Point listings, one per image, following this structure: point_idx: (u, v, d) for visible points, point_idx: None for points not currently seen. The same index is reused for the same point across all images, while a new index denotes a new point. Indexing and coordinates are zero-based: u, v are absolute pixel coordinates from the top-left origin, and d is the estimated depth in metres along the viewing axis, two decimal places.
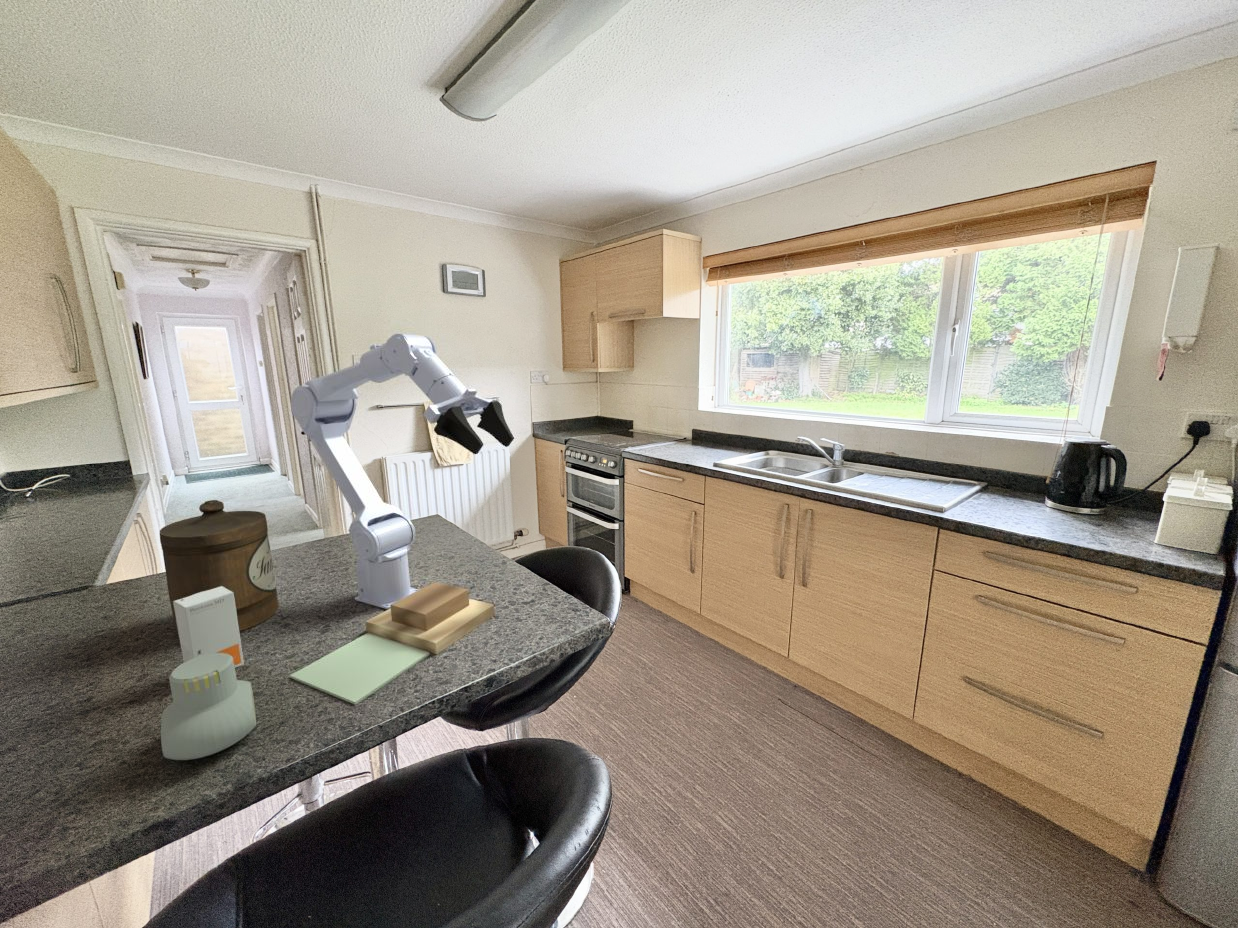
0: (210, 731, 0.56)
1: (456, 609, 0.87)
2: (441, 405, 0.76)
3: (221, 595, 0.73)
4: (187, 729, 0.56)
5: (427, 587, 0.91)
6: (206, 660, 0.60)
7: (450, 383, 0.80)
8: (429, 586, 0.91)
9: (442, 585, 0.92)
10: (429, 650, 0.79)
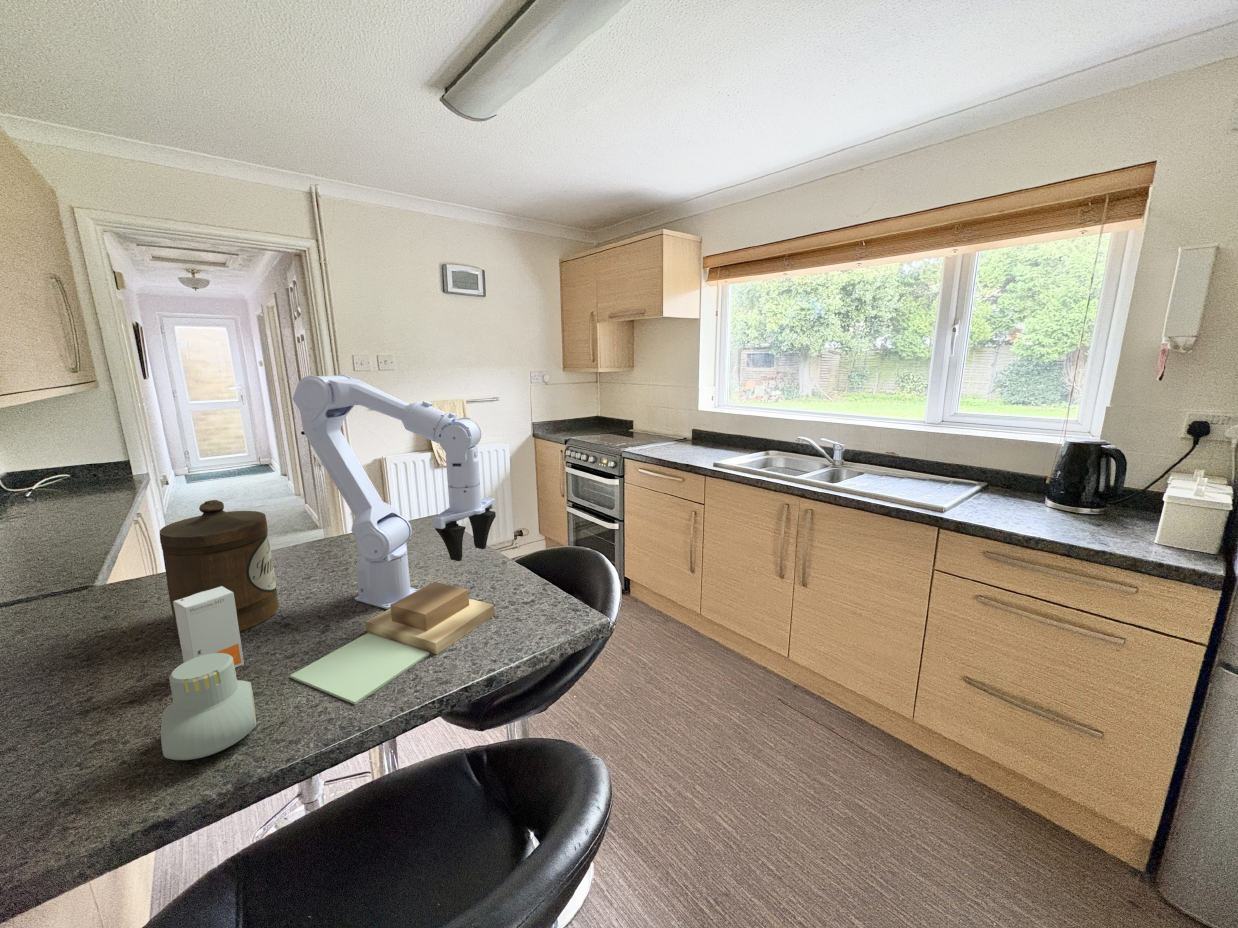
0: (210, 731, 0.56)
1: (456, 609, 0.87)
2: (450, 518, 0.88)
3: (221, 595, 0.73)
4: (187, 729, 0.56)
5: (427, 587, 0.91)
6: (207, 660, 0.60)
7: (470, 495, 0.90)
8: (429, 586, 0.91)
9: (442, 585, 0.92)
10: (429, 650, 0.79)
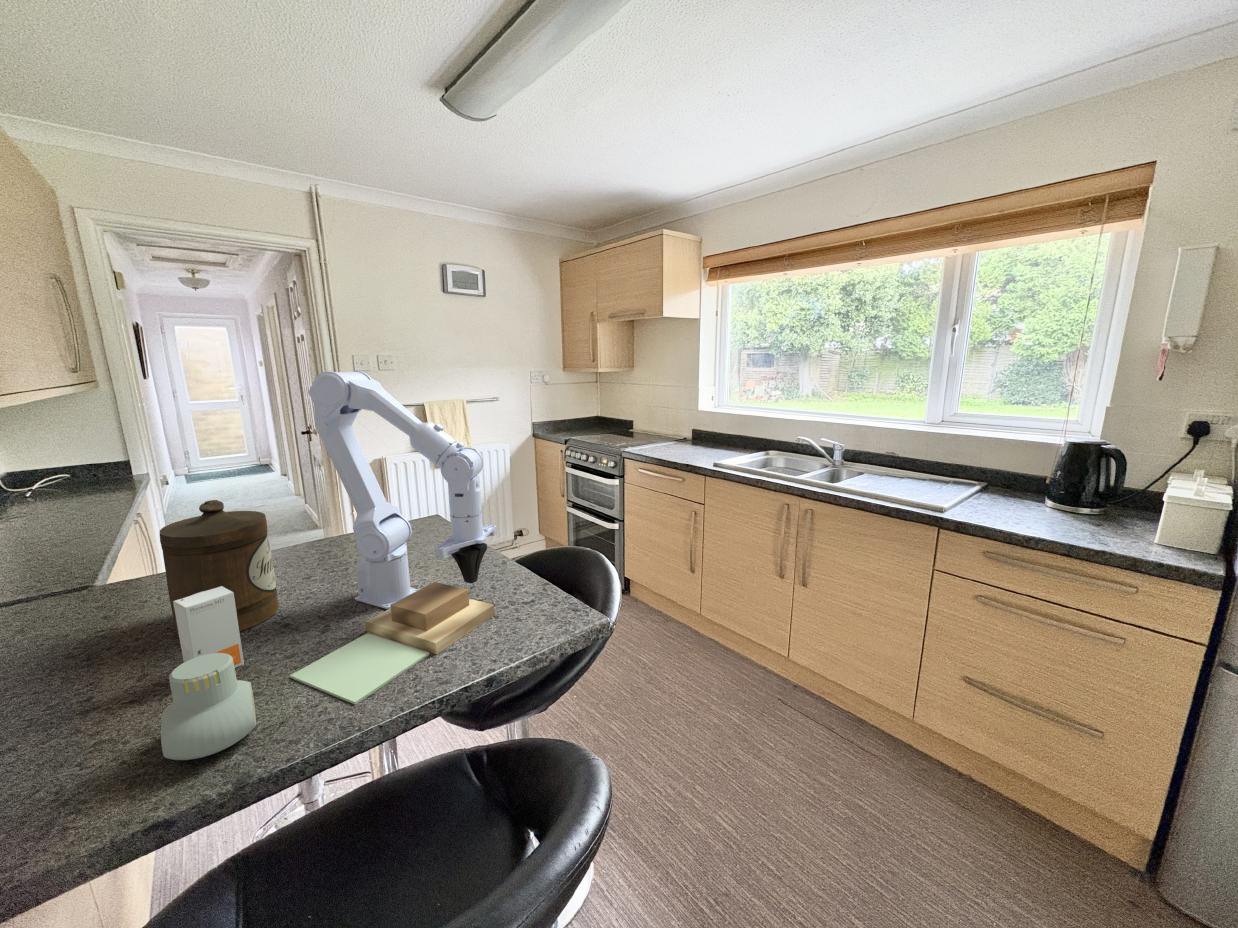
0: (210, 731, 0.56)
1: (456, 609, 0.87)
2: (452, 548, 0.89)
3: (221, 595, 0.73)
4: (187, 729, 0.56)
5: (427, 587, 0.91)
6: (206, 660, 0.60)
7: (472, 524, 0.92)
8: (429, 586, 0.91)
9: (442, 585, 0.92)
10: (429, 650, 0.79)
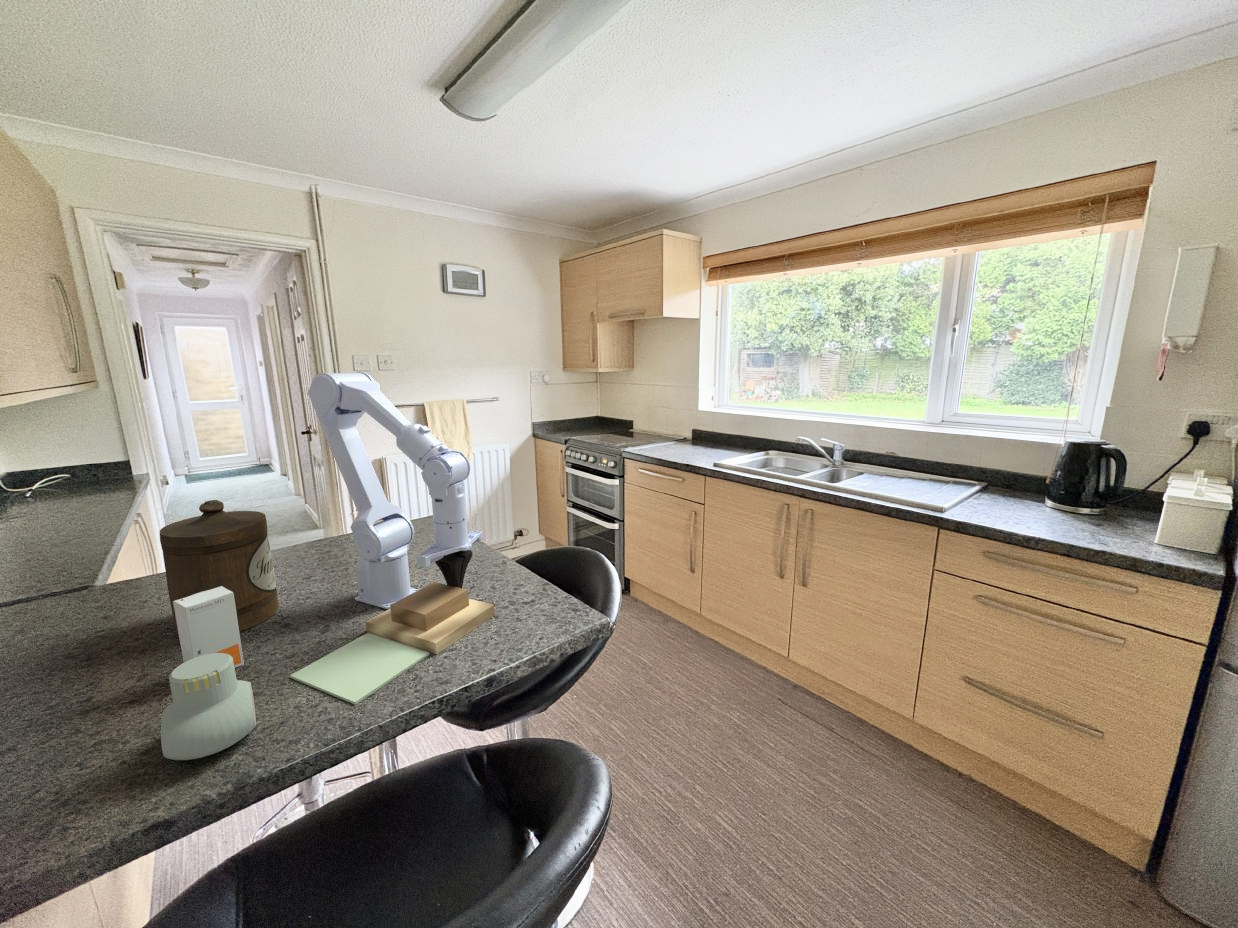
0: (210, 731, 0.56)
1: (456, 609, 0.87)
2: (435, 556, 0.86)
3: (221, 595, 0.73)
4: (187, 729, 0.56)
5: (427, 587, 0.91)
6: (206, 660, 0.60)
7: (456, 531, 0.88)
8: (429, 586, 0.91)
9: (442, 585, 0.91)
10: (429, 650, 0.79)
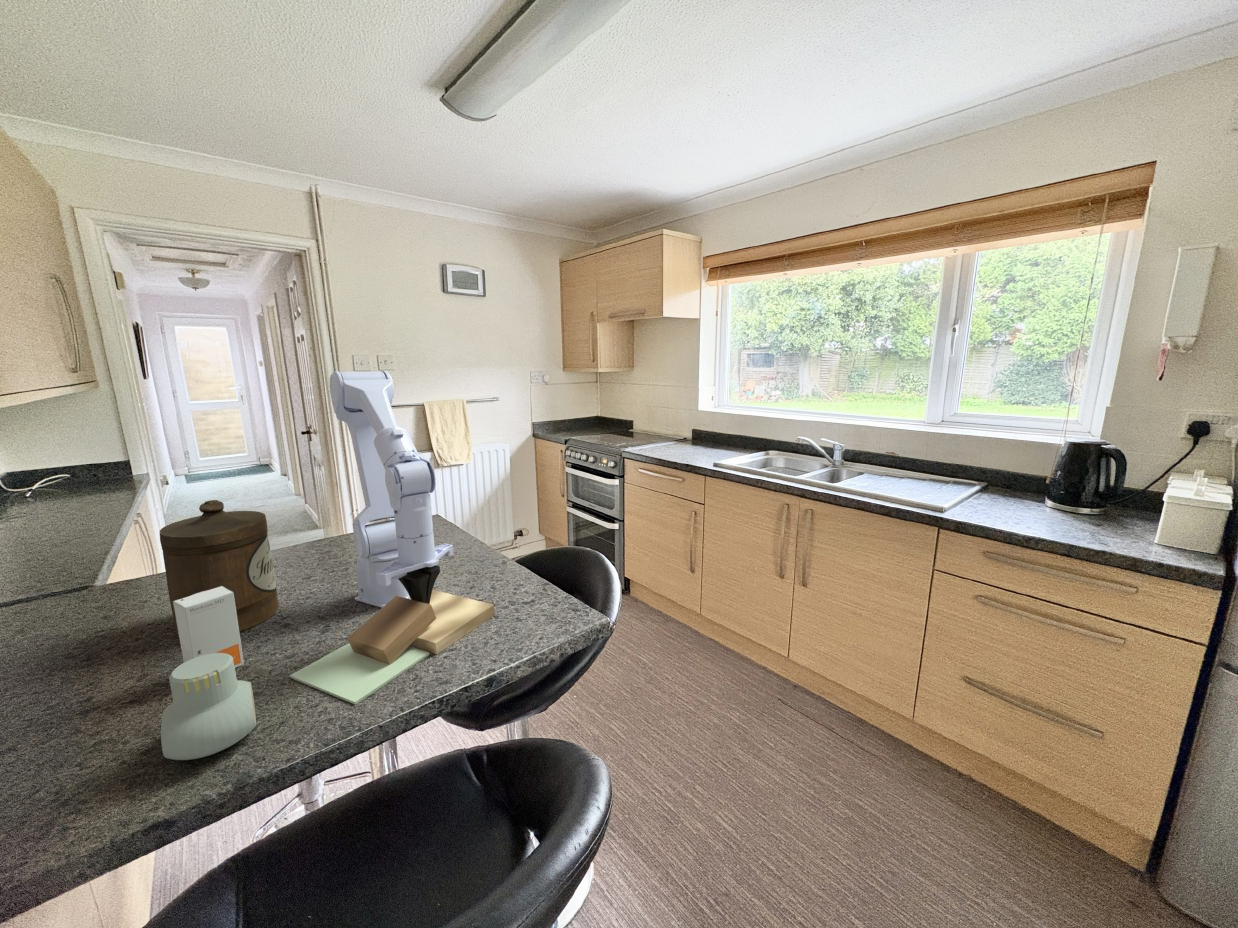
0: (210, 731, 0.56)
1: (421, 629, 0.80)
2: (397, 573, 0.78)
3: (221, 595, 0.73)
4: (187, 729, 0.56)
5: (387, 605, 0.83)
6: (207, 660, 0.60)
7: (421, 546, 0.81)
8: (389, 603, 0.83)
9: (403, 600, 0.84)
10: (429, 650, 0.79)
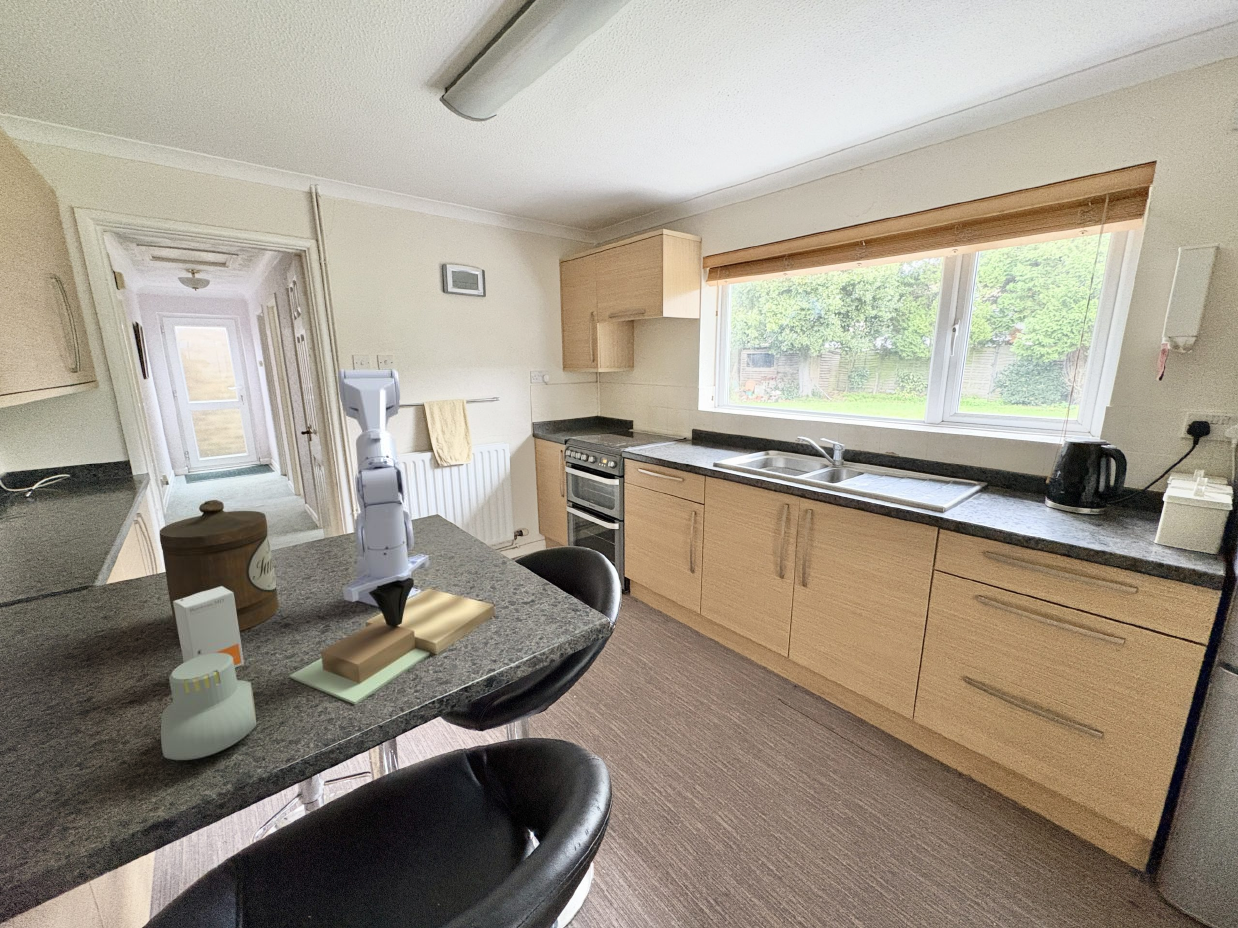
0: (210, 731, 0.56)
1: (399, 654, 0.77)
2: (365, 588, 0.73)
3: (221, 595, 0.73)
4: (187, 729, 0.56)
5: (368, 627, 0.80)
6: (207, 660, 0.60)
7: (392, 558, 0.76)
8: (371, 626, 0.80)
9: (386, 625, 0.81)
10: (429, 650, 0.79)
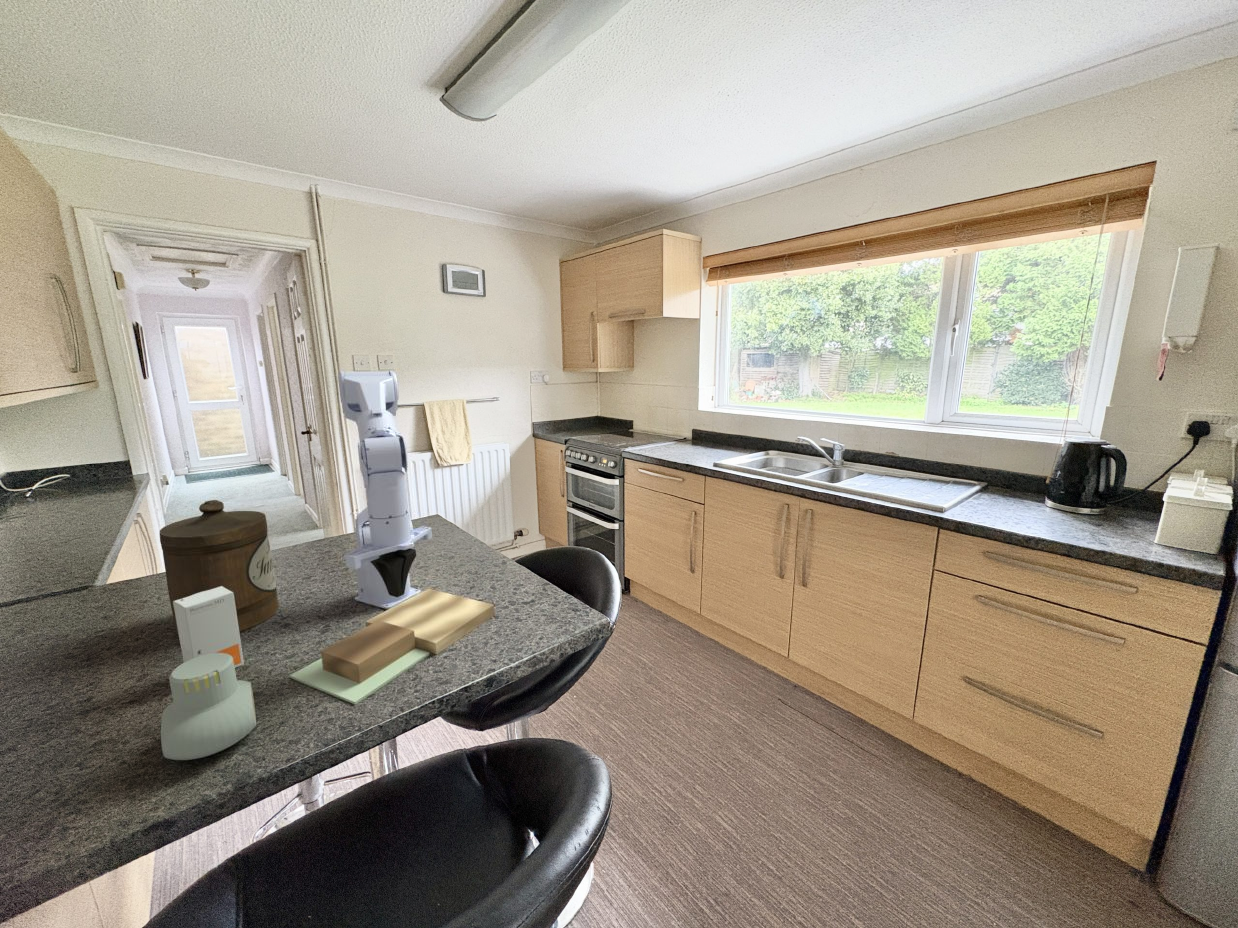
0: (210, 731, 0.56)
1: (399, 654, 0.77)
2: (368, 556, 0.73)
3: (221, 595, 0.73)
4: (187, 729, 0.56)
5: (368, 627, 0.80)
6: (206, 660, 0.60)
7: (394, 527, 0.76)
8: (371, 626, 0.80)
9: (386, 625, 0.81)
10: (429, 650, 0.79)
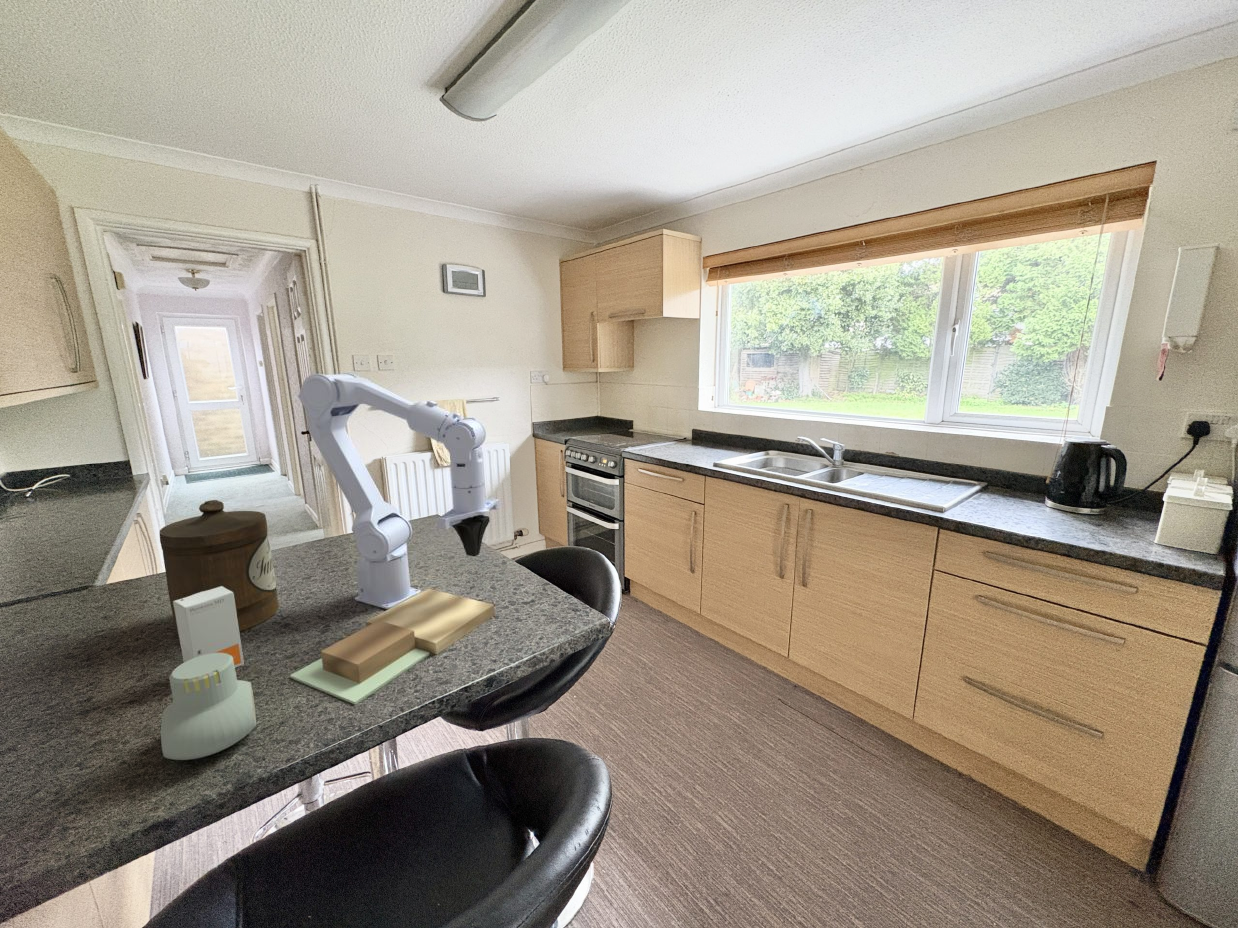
0: (210, 731, 0.56)
1: (399, 654, 0.77)
2: (455, 519, 0.88)
3: (221, 595, 0.73)
4: (187, 729, 0.56)
5: (368, 627, 0.80)
6: (207, 660, 0.60)
7: (475, 496, 0.90)
8: (371, 626, 0.80)
9: (386, 625, 0.81)
10: (429, 650, 0.79)
